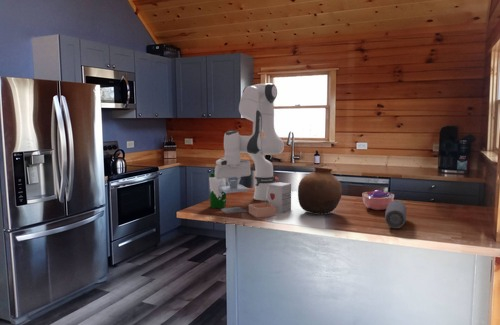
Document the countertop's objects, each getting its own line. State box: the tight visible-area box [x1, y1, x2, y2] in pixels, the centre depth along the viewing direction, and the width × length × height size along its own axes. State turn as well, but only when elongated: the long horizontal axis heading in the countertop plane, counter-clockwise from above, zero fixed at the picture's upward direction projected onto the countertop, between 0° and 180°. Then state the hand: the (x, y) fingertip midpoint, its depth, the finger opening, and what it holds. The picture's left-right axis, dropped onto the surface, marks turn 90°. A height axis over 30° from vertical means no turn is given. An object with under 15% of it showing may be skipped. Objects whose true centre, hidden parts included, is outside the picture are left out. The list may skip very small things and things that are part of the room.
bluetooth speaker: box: [384, 199, 408, 229], centre depth 180 cm, size 23×9×10 cm, turn 157°
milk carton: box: [208, 172, 227, 209], centre depth 220 cm, size 9×9×20 cm
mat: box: [219, 206, 248, 214], centre depth 212 cm, size 12×12×1 cm
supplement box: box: [268, 181, 292, 214], centre depth 210 cm, size 9×9×15 cm
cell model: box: [361, 189, 395, 211], centre depth 210 cm, size 17×20×11 cm
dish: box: [248, 202, 277, 219], centre depth 202 cm, size 11×11×5 cm
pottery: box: [297, 166, 343, 215], centre depth 202 cm, size 23×23×25 cm
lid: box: [219, 179, 250, 194], centre depth 211 cm, size 13×13×5 cm
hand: (233, 185), depth 211 cm, fingers closed on lid, 3 cm apart
